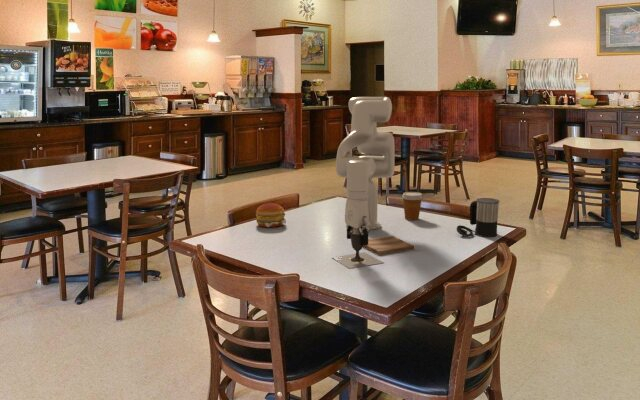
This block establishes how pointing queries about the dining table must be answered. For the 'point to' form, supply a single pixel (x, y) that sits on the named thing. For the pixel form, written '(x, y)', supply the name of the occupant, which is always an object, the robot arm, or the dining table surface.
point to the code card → (351, 264)
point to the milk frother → (482, 218)
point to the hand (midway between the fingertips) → (357, 241)
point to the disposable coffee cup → (412, 205)
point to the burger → (270, 215)
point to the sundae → (356, 243)
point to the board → (387, 245)
